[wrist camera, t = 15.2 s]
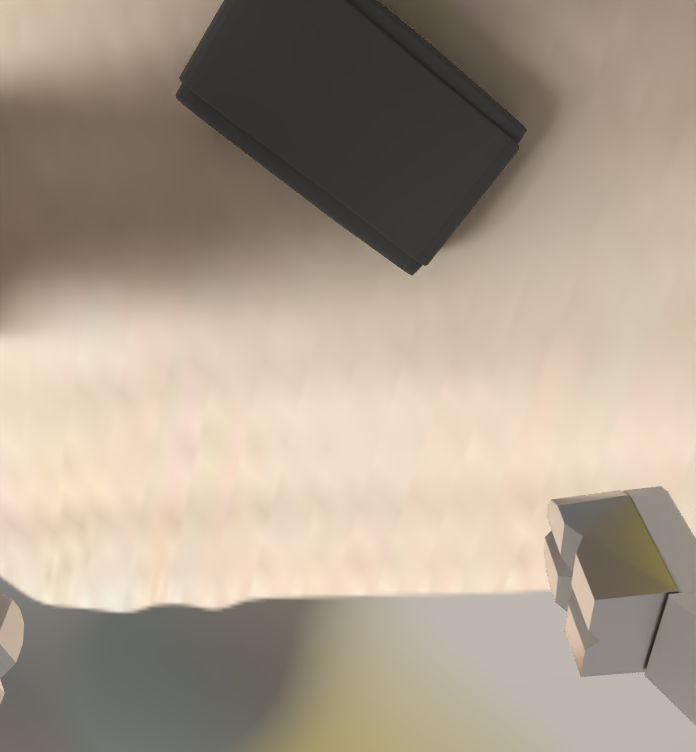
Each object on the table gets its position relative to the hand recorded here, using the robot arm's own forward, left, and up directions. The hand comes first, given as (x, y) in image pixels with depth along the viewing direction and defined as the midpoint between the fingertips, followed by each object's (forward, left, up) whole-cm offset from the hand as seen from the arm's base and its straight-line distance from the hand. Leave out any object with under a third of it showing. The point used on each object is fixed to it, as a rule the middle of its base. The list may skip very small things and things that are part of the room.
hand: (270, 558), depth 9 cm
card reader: (+3, 0, -27) cm, 27 cm away
